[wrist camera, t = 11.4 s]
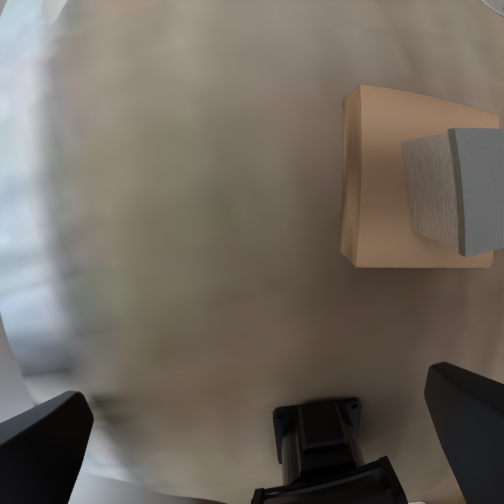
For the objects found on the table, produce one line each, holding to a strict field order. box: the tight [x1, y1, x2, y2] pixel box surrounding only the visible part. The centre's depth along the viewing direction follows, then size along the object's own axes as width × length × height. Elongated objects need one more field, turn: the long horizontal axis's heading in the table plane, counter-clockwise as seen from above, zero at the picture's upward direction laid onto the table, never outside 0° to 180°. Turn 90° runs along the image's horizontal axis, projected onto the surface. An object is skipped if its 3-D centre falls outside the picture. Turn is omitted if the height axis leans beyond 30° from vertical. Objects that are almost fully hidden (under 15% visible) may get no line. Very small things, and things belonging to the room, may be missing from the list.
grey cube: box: [401, 128, 504, 257], centre depth 12 cm, size 5×5×5 cm
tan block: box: [340, 84, 499, 268], centre depth 16 cm, size 9×9×4 cm
